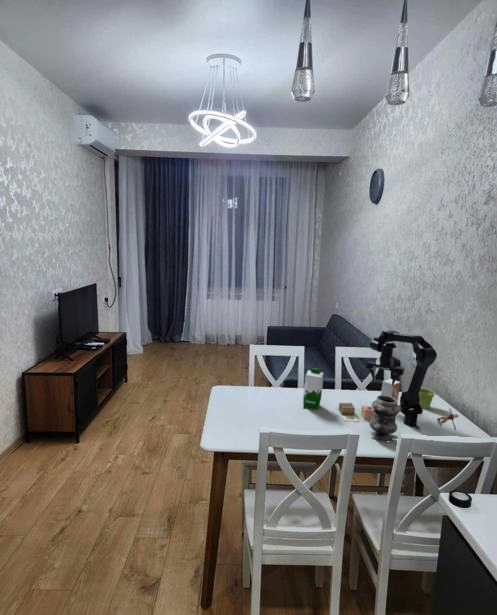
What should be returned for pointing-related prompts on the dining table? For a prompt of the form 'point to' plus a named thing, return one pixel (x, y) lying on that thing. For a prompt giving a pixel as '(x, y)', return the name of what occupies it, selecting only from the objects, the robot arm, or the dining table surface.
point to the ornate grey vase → (384, 418)
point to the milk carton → (313, 389)
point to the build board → (354, 418)
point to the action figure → (447, 418)
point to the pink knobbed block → (367, 412)
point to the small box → (390, 389)
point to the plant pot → (426, 398)
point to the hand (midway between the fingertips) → (383, 383)
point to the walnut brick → (346, 409)
